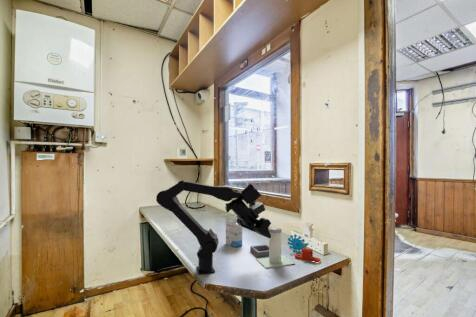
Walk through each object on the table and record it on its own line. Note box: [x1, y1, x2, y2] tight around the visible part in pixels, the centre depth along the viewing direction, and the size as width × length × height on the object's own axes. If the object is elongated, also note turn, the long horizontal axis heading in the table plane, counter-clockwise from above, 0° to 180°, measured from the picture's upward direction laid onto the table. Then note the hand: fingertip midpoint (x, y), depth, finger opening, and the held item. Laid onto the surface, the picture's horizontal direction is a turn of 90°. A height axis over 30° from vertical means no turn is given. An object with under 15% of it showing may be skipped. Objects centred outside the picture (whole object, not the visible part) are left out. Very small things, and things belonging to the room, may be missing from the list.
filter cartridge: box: [268, 226, 283, 263], centre depth 104 cm, size 6×6×14 cm
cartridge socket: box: [249, 244, 269, 259], centre depth 114 cm, size 9×9×2 cm
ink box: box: [225, 216, 243, 248], centre depth 127 cm, size 9×5×15 cm, turn 45°
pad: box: [255, 254, 296, 269], centre depth 104 cm, size 10×14×1 cm
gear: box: [287, 234, 309, 254], centre depth 119 cm, size 11×6×10 cm
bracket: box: [294, 247, 322, 262], centre depth 107 cm, size 12×4×5 cm, turn 58°
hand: (263, 234), depth 101 cm, fingers open, 9 cm apart
